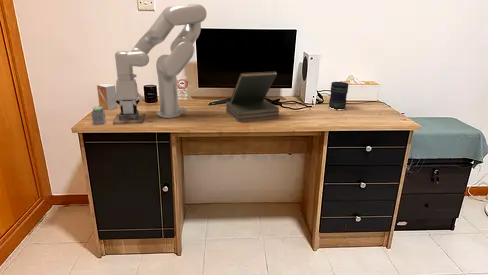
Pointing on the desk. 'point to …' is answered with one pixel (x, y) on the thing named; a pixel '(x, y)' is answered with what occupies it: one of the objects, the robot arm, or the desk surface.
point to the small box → (106, 96)
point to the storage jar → (338, 95)
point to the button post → (98, 117)
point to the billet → (128, 107)
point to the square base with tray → (129, 118)
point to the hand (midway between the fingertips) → (129, 112)
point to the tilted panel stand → (252, 98)
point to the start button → (97, 108)
